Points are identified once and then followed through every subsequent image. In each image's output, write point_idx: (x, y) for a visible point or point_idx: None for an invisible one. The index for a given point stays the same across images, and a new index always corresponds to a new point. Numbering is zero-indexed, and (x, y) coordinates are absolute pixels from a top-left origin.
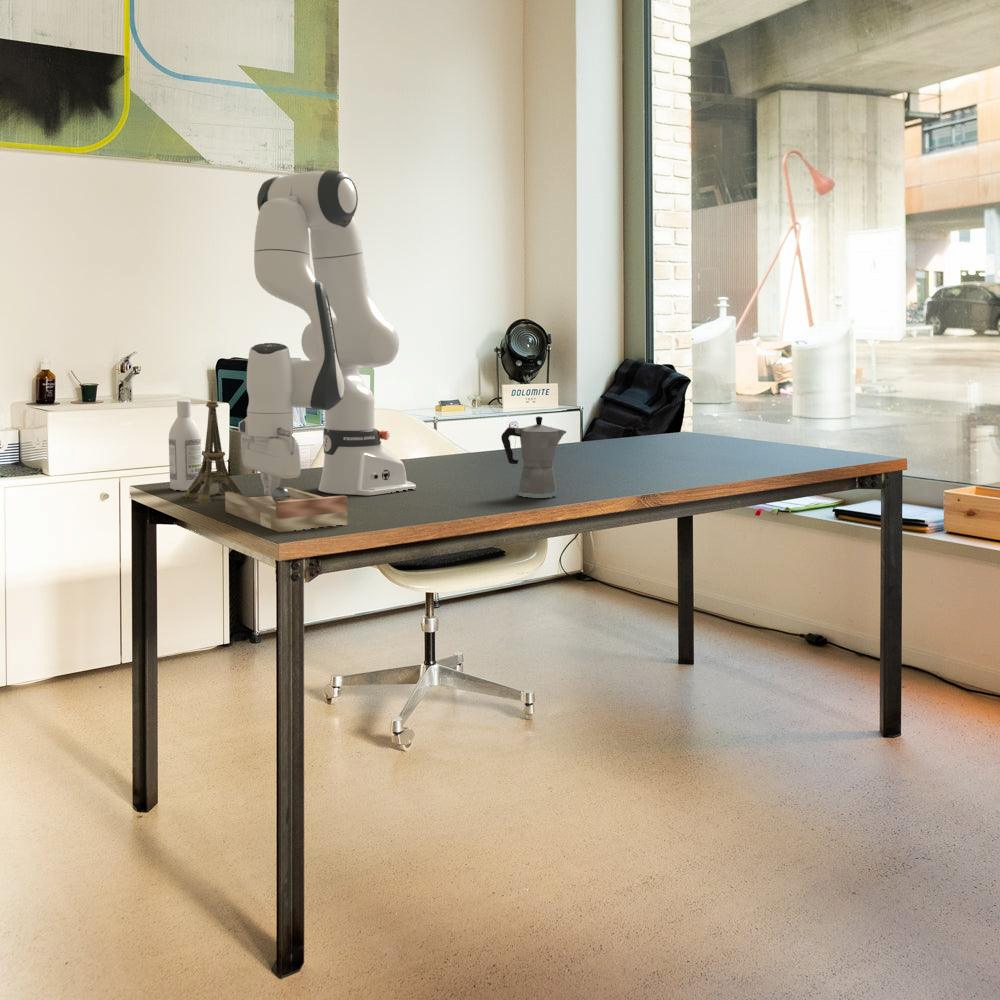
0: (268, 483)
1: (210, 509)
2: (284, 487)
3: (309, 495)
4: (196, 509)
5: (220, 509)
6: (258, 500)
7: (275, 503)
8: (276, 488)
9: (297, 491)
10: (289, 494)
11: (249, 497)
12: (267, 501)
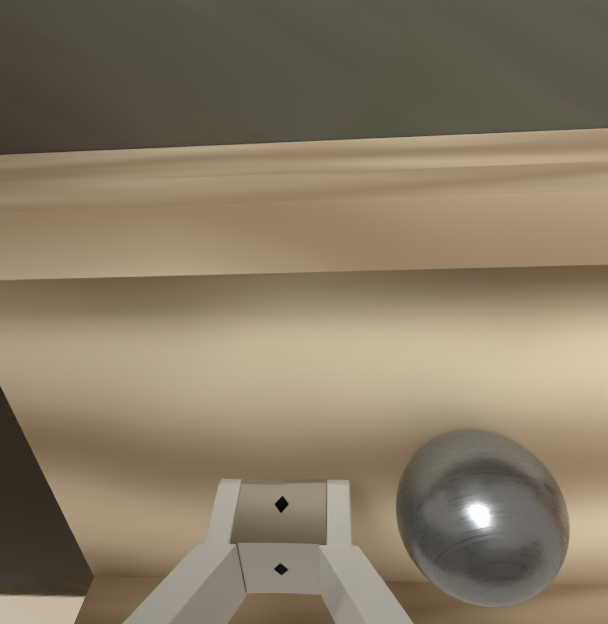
0: (222, 596)
1: (37, 549)
2: (516, 568)
3: (563, 262)
4: (24, 582)
5: (46, 523)
6: (209, 498)
7: (392, 464)
8: (481, 605)
9: (231, 272)
10: (554, 489)
11: (59, 497)
12: (276, 471)
